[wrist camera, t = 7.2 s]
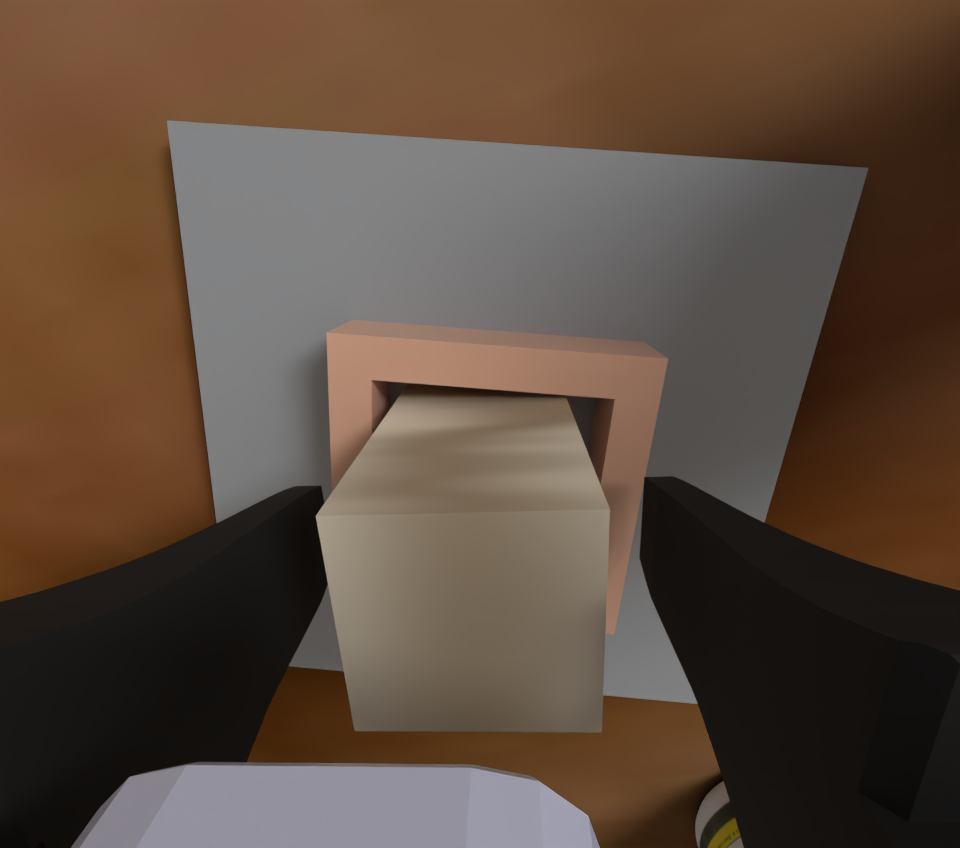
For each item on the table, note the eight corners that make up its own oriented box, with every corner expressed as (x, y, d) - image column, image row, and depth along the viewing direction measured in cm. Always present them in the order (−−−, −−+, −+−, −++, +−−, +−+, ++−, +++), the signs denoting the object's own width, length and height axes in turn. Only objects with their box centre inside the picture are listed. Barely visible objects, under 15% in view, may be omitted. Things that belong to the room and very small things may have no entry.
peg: (558, 377, 13) (610, 509, 7) (558, 512, 15) (601, 732, 8) (408, 383, 14) (316, 516, 7) (421, 515, 15) (354, 731, 8)
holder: (846, 172, 12) (940, 152, 9) (701, 685, 18) (736, 763, 15) (187, 128, 12) (102, 97, 10) (245, 643, 18) (199, 712, 15)
